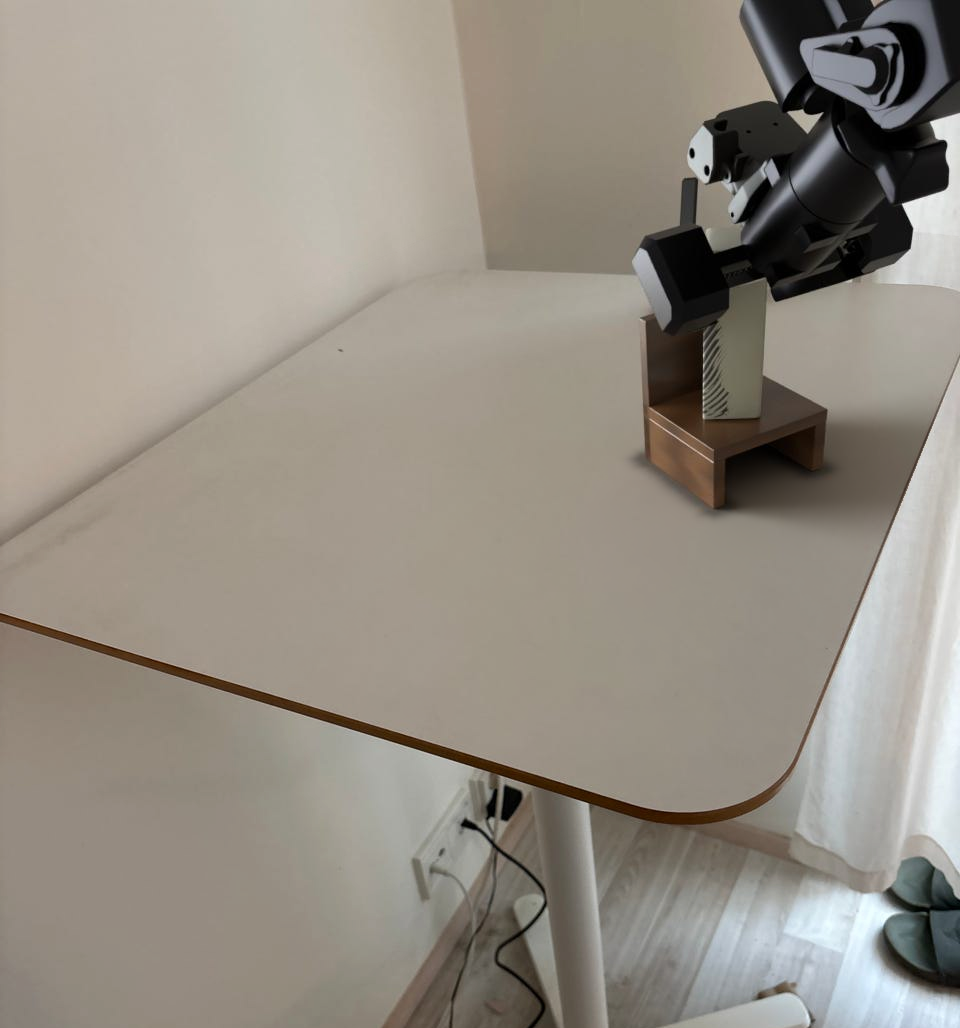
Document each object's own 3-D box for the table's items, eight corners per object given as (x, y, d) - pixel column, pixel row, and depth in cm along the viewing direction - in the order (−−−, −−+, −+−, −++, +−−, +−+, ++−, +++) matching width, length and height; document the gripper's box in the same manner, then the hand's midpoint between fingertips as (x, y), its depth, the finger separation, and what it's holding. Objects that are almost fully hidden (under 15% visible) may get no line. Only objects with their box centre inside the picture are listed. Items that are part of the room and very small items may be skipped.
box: (705, 392, 76) (705, 225, 68) (762, 390, 75) (769, 220, 67) (701, 423, 72) (701, 250, 64) (762, 421, 71) (769, 245, 63)
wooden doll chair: (822, 467, 74) (835, 317, 67) (713, 509, 72) (714, 358, 65) (746, 421, 82) (750, 281, 74) (644, 457, 80) (638, 317, 72)
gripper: (905, 26, 58) (783, 186, 73) (640, 96, 54) (568, 250, 69) (983, 186, 57) (842, 314, 72) (719, 269, 53) (628, 387, 68)
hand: (722, 312), depth 71 cm, fingers open, 9 cm apart
